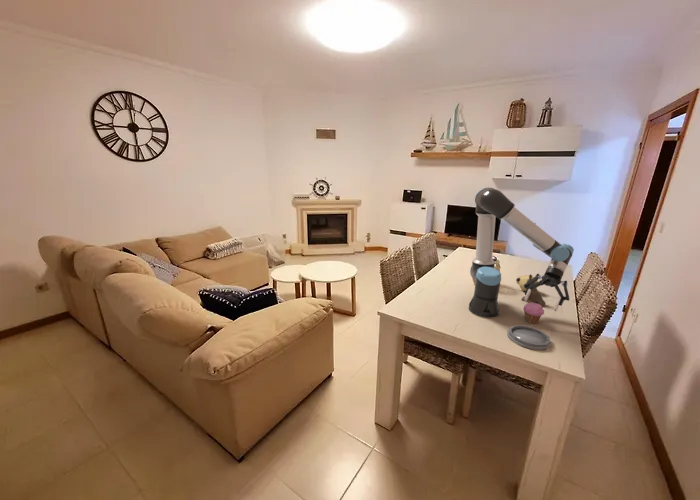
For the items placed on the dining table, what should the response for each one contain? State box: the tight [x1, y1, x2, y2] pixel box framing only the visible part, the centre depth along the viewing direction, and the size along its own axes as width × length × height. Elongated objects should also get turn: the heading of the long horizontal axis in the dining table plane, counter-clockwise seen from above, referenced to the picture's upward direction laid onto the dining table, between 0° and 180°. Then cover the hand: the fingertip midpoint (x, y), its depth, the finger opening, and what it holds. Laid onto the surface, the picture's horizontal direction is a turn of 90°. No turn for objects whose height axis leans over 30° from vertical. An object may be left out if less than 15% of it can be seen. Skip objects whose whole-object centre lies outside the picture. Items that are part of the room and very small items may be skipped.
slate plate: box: [506, 324, 552, 351], centre depth 133 cm, size 17×17×2 cm
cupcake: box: [522, 302, 545, 324], centre depth 147 cm, size 9×9×10 cm
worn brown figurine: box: [520, 274, 546, 308], centre depth 168 cm, size 12×6×18 cm, turn 36°
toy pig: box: [515, 274, 539, 292], centre depth 184 cm, size 10×12×11 cm
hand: (539, 305), depth 147 cm, fingers open, 13 cm apart
